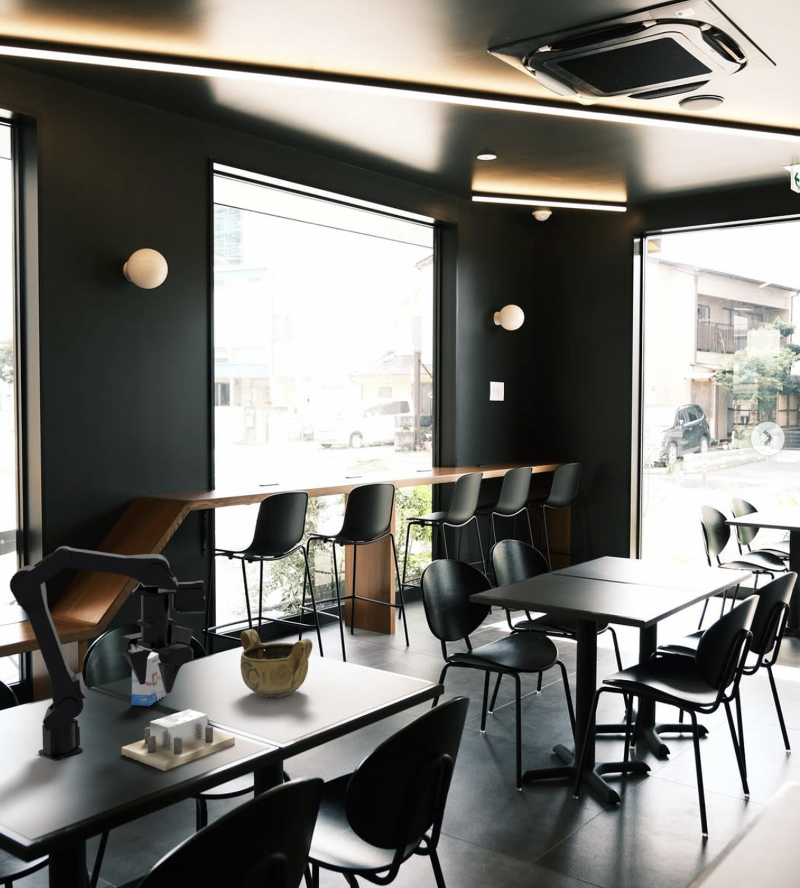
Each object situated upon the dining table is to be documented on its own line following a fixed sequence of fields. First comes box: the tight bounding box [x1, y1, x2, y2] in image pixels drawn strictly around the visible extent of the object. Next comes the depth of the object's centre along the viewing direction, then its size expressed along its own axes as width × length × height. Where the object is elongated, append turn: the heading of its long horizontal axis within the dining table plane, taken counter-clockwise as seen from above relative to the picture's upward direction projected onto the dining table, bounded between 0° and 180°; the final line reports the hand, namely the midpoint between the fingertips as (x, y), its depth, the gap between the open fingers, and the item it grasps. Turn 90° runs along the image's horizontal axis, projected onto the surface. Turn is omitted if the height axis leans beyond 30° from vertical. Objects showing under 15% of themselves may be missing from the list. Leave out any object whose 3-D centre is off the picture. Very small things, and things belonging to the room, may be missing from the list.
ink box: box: [131, 652, 166, 707], centre depth 218 cm, size 8×5×12 cm, turn 168°
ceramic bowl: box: [239, 629, 313, 699], centre depth 223 cm, size 22×17×15 cm
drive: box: [149, 708, 208, 752], centre depth 186 cm, size 10×6×5 cm, turn 142°
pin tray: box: [121, 717, 236, 772], centre depth 186 cm, size 18×14×4 cm
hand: (155, 688), depth 189 cm, fingers open, 9 cm apart
